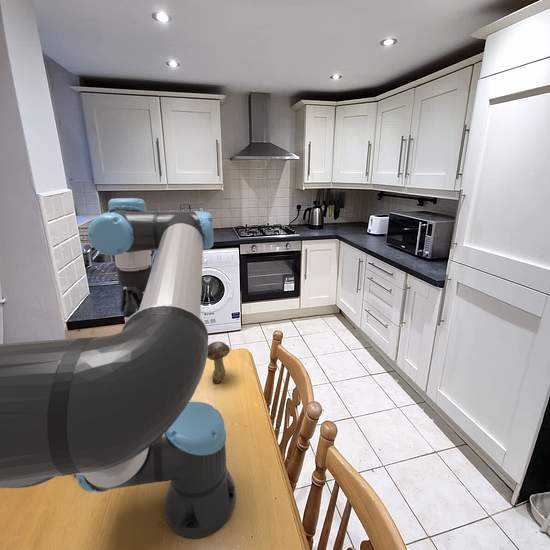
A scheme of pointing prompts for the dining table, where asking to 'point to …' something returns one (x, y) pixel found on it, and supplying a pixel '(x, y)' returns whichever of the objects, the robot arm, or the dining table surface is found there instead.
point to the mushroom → (218, 359)
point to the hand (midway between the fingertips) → (144, 348)
